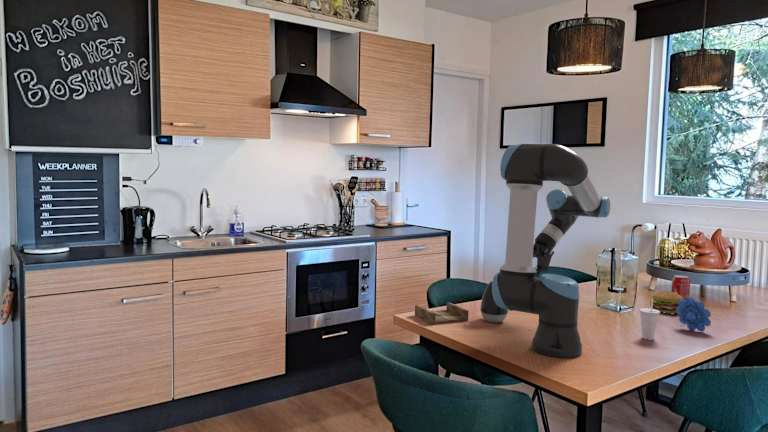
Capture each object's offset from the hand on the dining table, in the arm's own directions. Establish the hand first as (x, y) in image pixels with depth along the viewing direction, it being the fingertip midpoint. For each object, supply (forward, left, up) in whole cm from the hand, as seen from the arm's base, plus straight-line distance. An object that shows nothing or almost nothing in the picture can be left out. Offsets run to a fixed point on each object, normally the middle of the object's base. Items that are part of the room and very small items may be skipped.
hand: (515, 279), depth 214 cm
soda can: (-4, -86, -15) cm, 87 cm away
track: (+10, +26, -15) cm, 32 cm away
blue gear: (-36, -51, -15) cm, 64 cm away
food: (-12, -69, -15) cm, 72 cm away
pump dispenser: (0, +9, -15) cm, 18 cm away
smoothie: (-37, -28, -15) cm, 49 cm away
